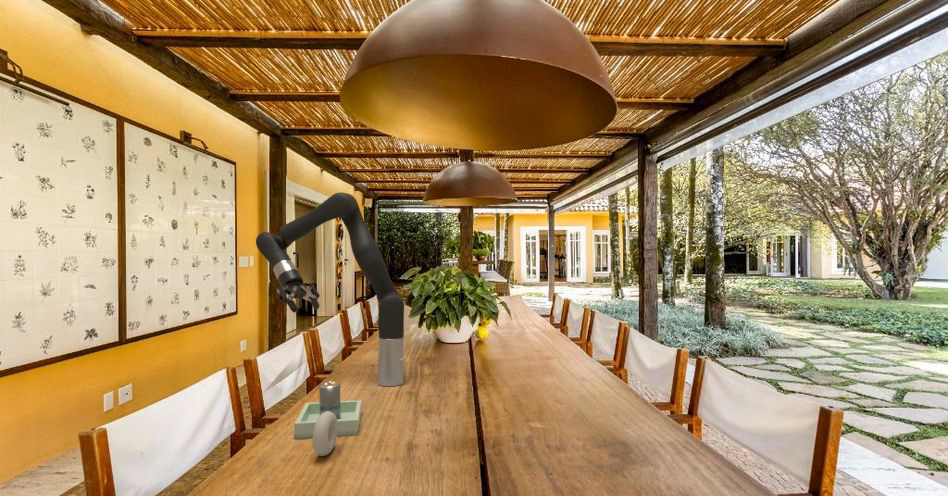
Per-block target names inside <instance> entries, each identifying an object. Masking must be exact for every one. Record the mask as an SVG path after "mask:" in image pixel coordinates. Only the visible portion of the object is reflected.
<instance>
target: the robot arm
mask: <svg viewBox="0 0 948 496" xmlns="http://www.w3.org/2000/svg"><path fill="white" fill-rule="evenodd" d="M339 218H340V219H341V221H342V222H343V225H344V226H345V228H346V230H347V232H348V237H349V241H350V247H351V252H352V255H353V256H354V259H355V261H356V263H357V265H358V267H359V269H360V272H361V273H362V274H363V275H364V277H366V279H367V281H368V282H369V283H370V285H371V286H372V289H373V290H374V292H375V295H376V298H377V300H378V303H379V304H378V315H377V316H378V321H377V322H378V323H377V324H378V325H377V326H378V327H377V328H378V360H377V361H378V363H377V365H378V366H377V385H379V386H381V387H396V386H397V387H398V386H400V385H401V386H402V385H404V360H405V359H404V343H405V342H404V340H405V338H404V337H405V325H404V324H405V301H404V299H403V298H402V296H401V295H400V293H399V291H398V290H397V288H396V286H395V284H394V283H393V281H392V280H391V276H390V275H389V272H388V268H387V265H386V263H385V261H384V258H383V256H382V254H381V251H380V249H379V247H378V245H377V243H376V241H375V239H374V237H373V235H372V234H371V232H370V231H369V229H368V226H367V225H366V222H365V220H364V217H363V215H362V212H361V209H360V206H359V203H358V201H357V199H356V198H355V197H354V195H352V194H349V193H346V192H336V193H335V192H334V193H333V194H332V195H331V196H329V197H328V198H327V199H325V200H323V202H322V203H320V204H319V205H318V206H316V207H314V208H313V209H311V210H310V211H309V212H306V213H305V214H303V215H301V216H299V217H297V218H296V219H295V218H294V220H291V221H289V222H288V223H286V224H284V225H283V226H281V227H280V228H279V235H276V234H274V233H271V232H268V231H263V232H260V233H259V234H258V235H257V237H256V238H255V246H256V248H257V249H258V251H259V252H260V253H261V255H263V257H264V258H265V259H266V260H267V261H268V263H269V265H270V267H271V269H272V271H273V273H274V275H275V278H276V281H278V284H279V286H278V287H277V289H276V291H275V293H276V295H277V297H278V298H277V299H278V300H279V302H280V304H282V305H284V304H286V305H288V308H289V310H290V311H291V312H293V314H294V313H297V312H298V310H299V308H298V306H297V304H296V302H295V300H296V299H303V300H305V301H308V302H309V303H310V304H311V306H312V308H313V310H314V311H319V310H318V309H319V308H320V303H319V301H318V299H319V298H320V297H321V295H320V294H319V291H318V290H317V289H316V287H315V286H314V284H310V285H308V286H306V285H305V283H304V279H303V277H302V275H301V274H300V271H299V270H298V268H297V266H296V265H295V264H294V262H293V261H292V259H291V257H290V255H289V254H288V253H287V251H286V249H288V248H289V247H290V246H291V245H292V244H293V243H294V242H297V241H298V240H301V239H302V238H303V237H305V236H307V235H309V234H310V233H311V232H313V231H314V230H316V229H317V228H318V227H320V226H322V225H323V224H325V223H327V222H329V221H332V220H335V219H339ZM286 294H287V295H288V296H287V295H286ZM306 294H307V295H306ZM294 299H295V300H294Z"/></svg>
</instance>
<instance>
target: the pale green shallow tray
mask: <svg viewBox="0 0 948 496" xmlns="http://www.w3.org/2000/svg"><path fill="white" fill-rule="evenodd" d="M340 408H341V419H337V423H338V431H337V437H347V436H348V437H350V436H358V435H359V429H360V423H361V416H362V399H361V400H358V399H357V400H340ZM319 416H320V401H319V402H317V401H316V402H306V403H304V405H303V407H302V409H301V411H300V413H299V415H298V417H297V418H296V420H295V422H294V433H293V436H294V437H293V438H294V440H300V439H303V440H304V439H313V432H314V427H315V424H316V422H317V419H318V418H319Z"/></svg>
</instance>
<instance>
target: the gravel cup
mask: <svg viewBox="0 0 948 496" xmlns="http://www.w3.org/2000/svg"><path fill="white" fill-rule="evenodd" d="M318 389H319V393H318V394H319V398H318V399H319V402H320V415H321V414H322V413H324V412H326V411H330V412H332V413H334V414H335V416H336V418H337V419H341V408H340V401H341V383H339V382H336V381H335V380H333V381H332V380H329V381H327V382H324V383H322V384H320V385H319V388H318Z"/></svg>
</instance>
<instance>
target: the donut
mask: <svg viewBox="0 0 948 496" xmlns="http://www.w3.org/2000/svg"><path fill="white" fill-rule="evenodd" d="M337 431H338V423H337V418H336V416H335V414H334V413H332V412H330V411H326V412H324V413H322V414H321V415H320V416H319V418H318V419H317V422H316V424H315V427H314V432H313V438H312V446H313V450H314V452H315V453H316V455H318V456H321V457H326V456H327V455H329V454H330V453H331V452H332V450H333V449H334V446H335V444H336V442H337V437H338V436H337Z"/></svg>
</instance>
